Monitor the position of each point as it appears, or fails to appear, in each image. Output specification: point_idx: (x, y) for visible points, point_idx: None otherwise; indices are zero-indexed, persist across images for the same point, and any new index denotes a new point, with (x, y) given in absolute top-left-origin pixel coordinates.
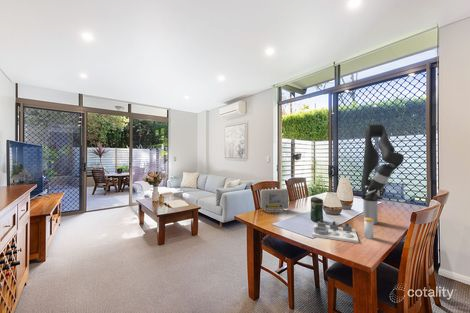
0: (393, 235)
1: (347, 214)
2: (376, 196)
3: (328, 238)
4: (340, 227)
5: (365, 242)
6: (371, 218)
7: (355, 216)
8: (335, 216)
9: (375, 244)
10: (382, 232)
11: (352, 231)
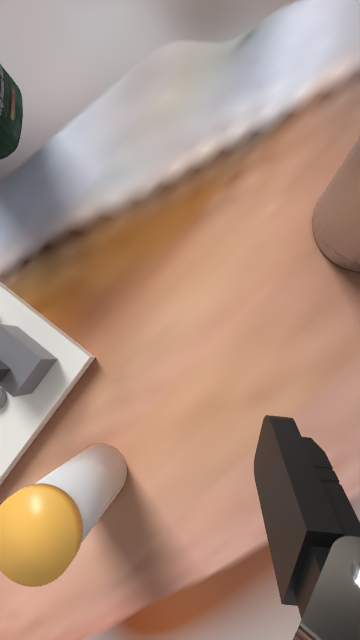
0: None
1: (325, 23)
2: (280, 563)
3: None
4: (18, 306)
5: None
6: (67, 537)
7: (353, 79)
8: (189, 57)
9: None
10: None
11: (40, 391)
